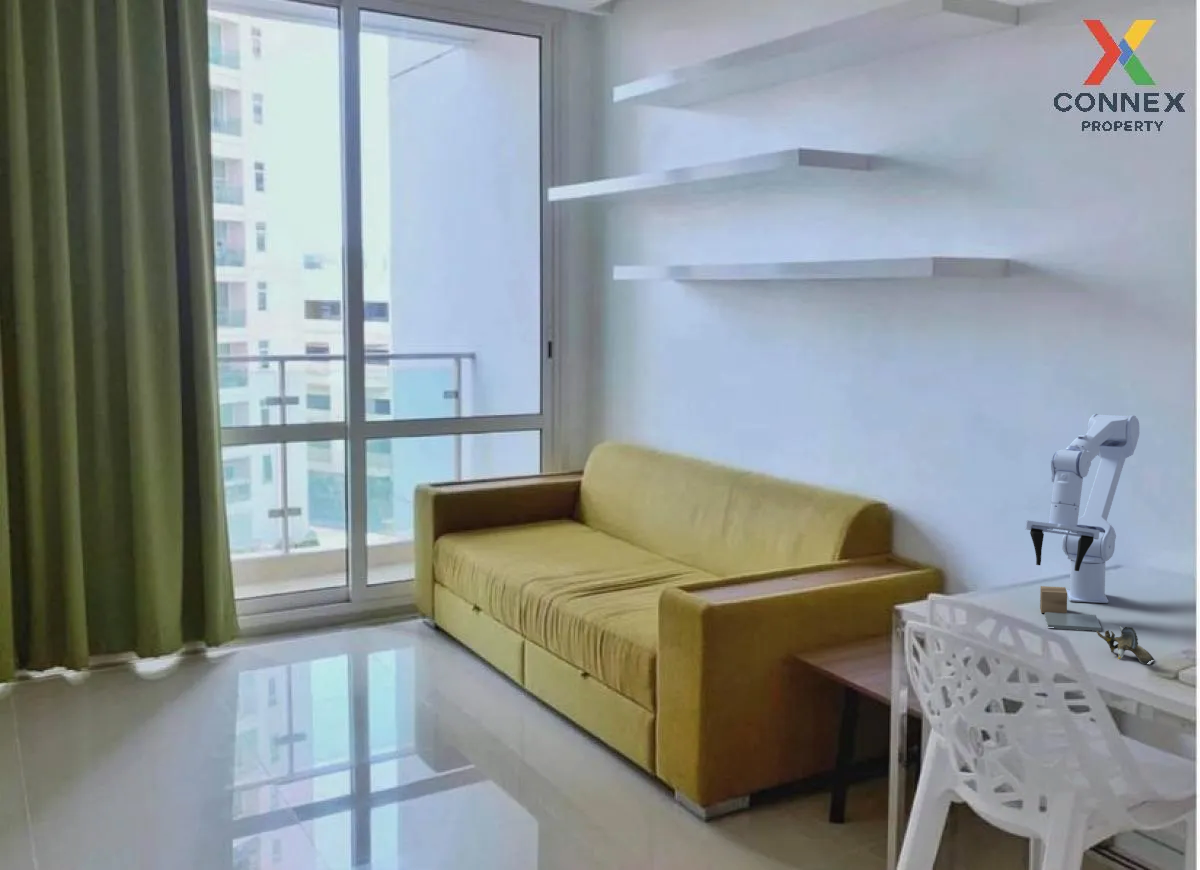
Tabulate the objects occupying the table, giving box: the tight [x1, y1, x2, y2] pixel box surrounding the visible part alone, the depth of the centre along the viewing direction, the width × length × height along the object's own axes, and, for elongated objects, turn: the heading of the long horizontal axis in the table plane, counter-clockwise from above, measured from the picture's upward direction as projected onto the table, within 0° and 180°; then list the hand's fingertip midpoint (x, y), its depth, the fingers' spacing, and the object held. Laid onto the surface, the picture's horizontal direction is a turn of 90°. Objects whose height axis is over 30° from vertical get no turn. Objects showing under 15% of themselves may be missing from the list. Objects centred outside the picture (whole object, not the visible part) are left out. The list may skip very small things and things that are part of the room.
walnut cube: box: [1039, 585, 1068, 615], centre depth 237 cm, size 5×5×5 cm
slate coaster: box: [1044, 612, 1102, 632], centre depth 228 cm, size 10×10×1 cm
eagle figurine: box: [1095, 626, 1155, 665], centre depth 204 cm, size 8×7×9 cm
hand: (1057, 568), depth 235 cm, fingers open, 7 cm apart
